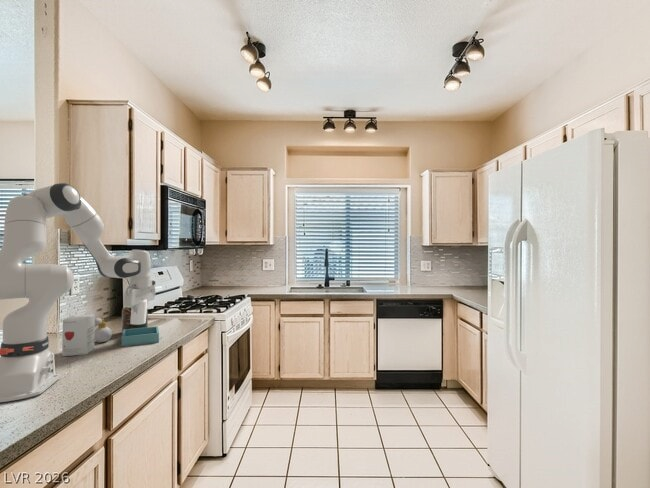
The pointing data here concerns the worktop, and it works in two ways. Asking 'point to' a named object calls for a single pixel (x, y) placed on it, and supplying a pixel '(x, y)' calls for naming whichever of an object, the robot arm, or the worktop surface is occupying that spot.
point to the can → (139, 313)
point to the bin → (140, 336)
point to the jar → (127, 317)
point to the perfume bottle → (101, 331)
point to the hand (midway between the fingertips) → (140, 312)
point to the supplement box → (78, 335)
